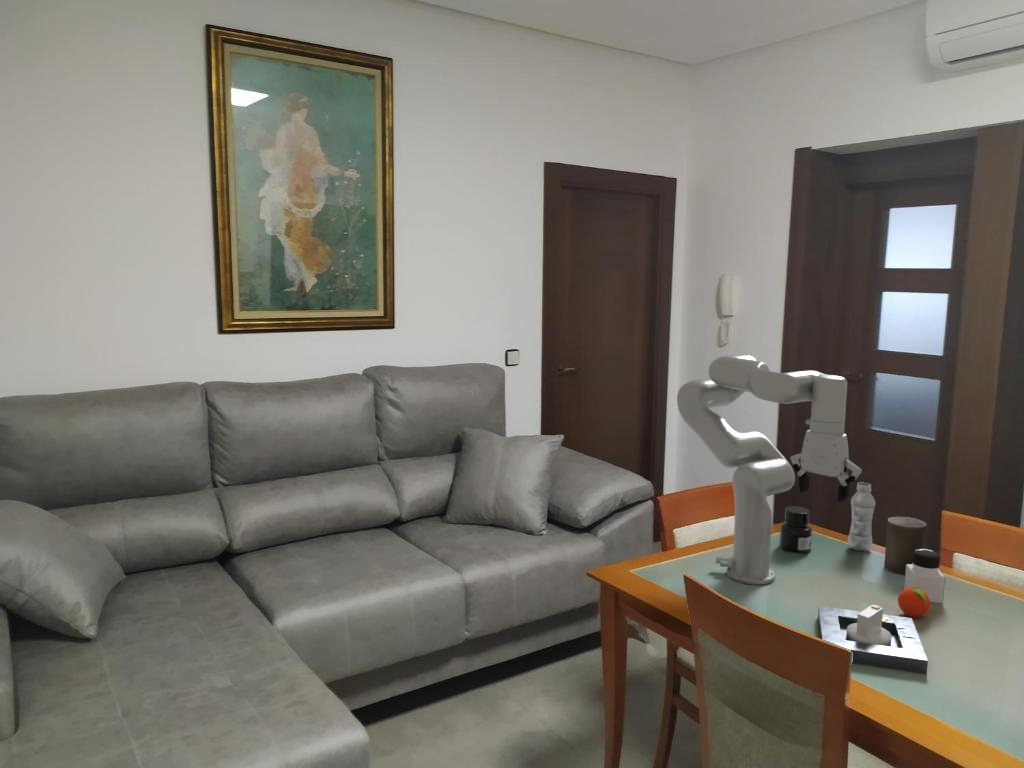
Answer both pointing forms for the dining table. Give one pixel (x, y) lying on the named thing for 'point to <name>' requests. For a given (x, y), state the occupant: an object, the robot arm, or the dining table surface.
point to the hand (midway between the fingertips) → (822, 496)
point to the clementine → (914, 602)
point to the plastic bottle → (861, 518)
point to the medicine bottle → (926, 574)
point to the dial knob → (869, 628)
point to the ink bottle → (796, 530)
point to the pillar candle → (903, 542)
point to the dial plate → (897, 656)
